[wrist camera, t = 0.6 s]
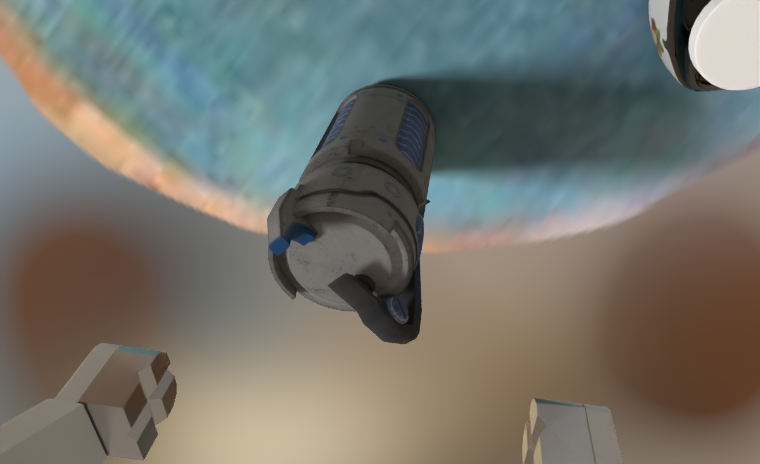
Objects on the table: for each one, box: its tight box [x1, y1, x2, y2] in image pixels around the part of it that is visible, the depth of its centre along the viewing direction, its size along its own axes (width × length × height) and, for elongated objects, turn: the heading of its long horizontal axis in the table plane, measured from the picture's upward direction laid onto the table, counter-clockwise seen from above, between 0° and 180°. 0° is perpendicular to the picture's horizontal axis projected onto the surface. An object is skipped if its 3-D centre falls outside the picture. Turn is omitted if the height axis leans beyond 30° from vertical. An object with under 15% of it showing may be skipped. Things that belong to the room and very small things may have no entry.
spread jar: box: [648, 0, 760, 91], centre depth 40 cm, size 12×11×12 cm
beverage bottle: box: [267, 84, 436, 344], centre depth 46 cm, size 10×13×25 cm
